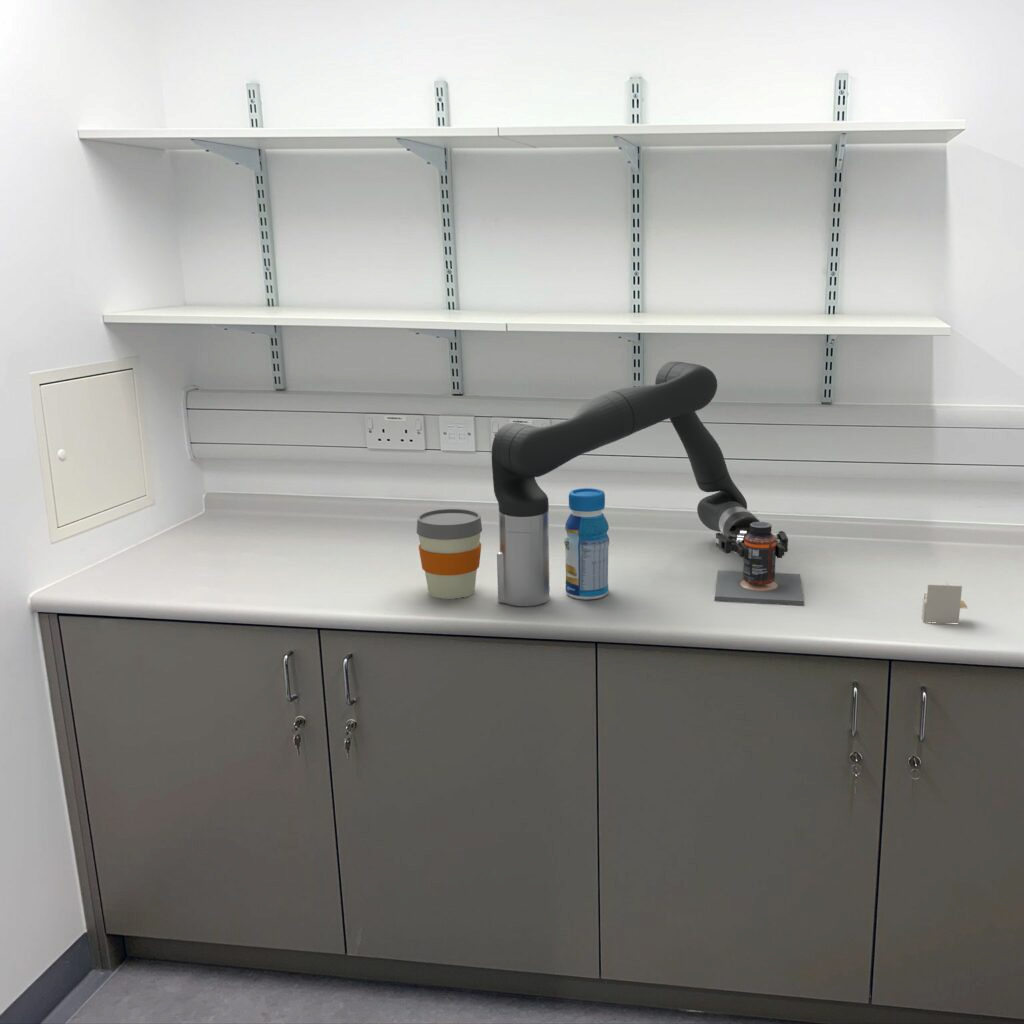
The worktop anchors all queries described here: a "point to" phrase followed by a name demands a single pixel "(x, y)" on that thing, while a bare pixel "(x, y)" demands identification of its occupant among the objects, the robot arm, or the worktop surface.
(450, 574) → the reusable coffee cup
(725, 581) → the mat
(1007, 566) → the worktop surface
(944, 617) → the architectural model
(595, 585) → the beverage bottle
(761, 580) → the supplement bottle
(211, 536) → the worktop surface
